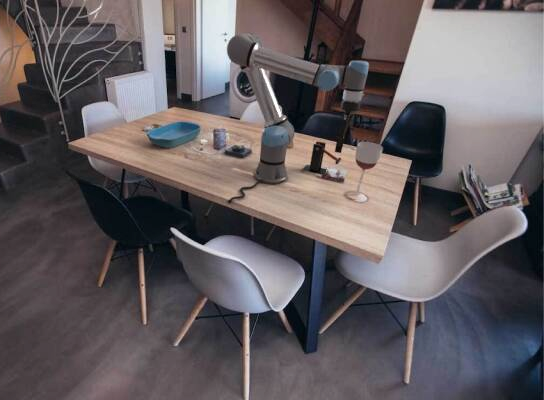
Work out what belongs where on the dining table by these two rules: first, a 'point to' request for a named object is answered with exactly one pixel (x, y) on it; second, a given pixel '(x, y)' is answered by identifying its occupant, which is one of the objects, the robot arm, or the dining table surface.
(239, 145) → the button
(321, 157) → the bracket
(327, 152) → the lever
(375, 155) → the wineglass
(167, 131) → the casserole dish
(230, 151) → the button box
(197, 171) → the dining table surface
